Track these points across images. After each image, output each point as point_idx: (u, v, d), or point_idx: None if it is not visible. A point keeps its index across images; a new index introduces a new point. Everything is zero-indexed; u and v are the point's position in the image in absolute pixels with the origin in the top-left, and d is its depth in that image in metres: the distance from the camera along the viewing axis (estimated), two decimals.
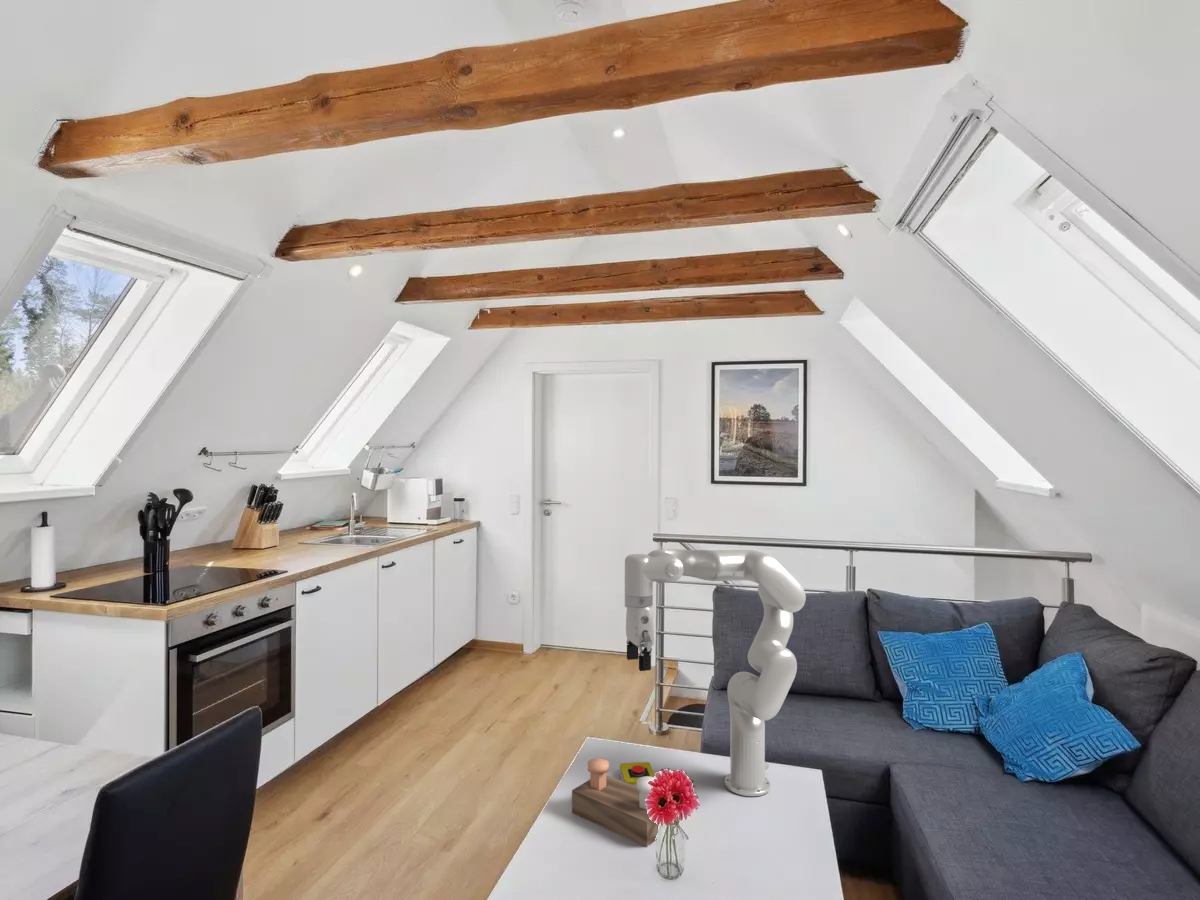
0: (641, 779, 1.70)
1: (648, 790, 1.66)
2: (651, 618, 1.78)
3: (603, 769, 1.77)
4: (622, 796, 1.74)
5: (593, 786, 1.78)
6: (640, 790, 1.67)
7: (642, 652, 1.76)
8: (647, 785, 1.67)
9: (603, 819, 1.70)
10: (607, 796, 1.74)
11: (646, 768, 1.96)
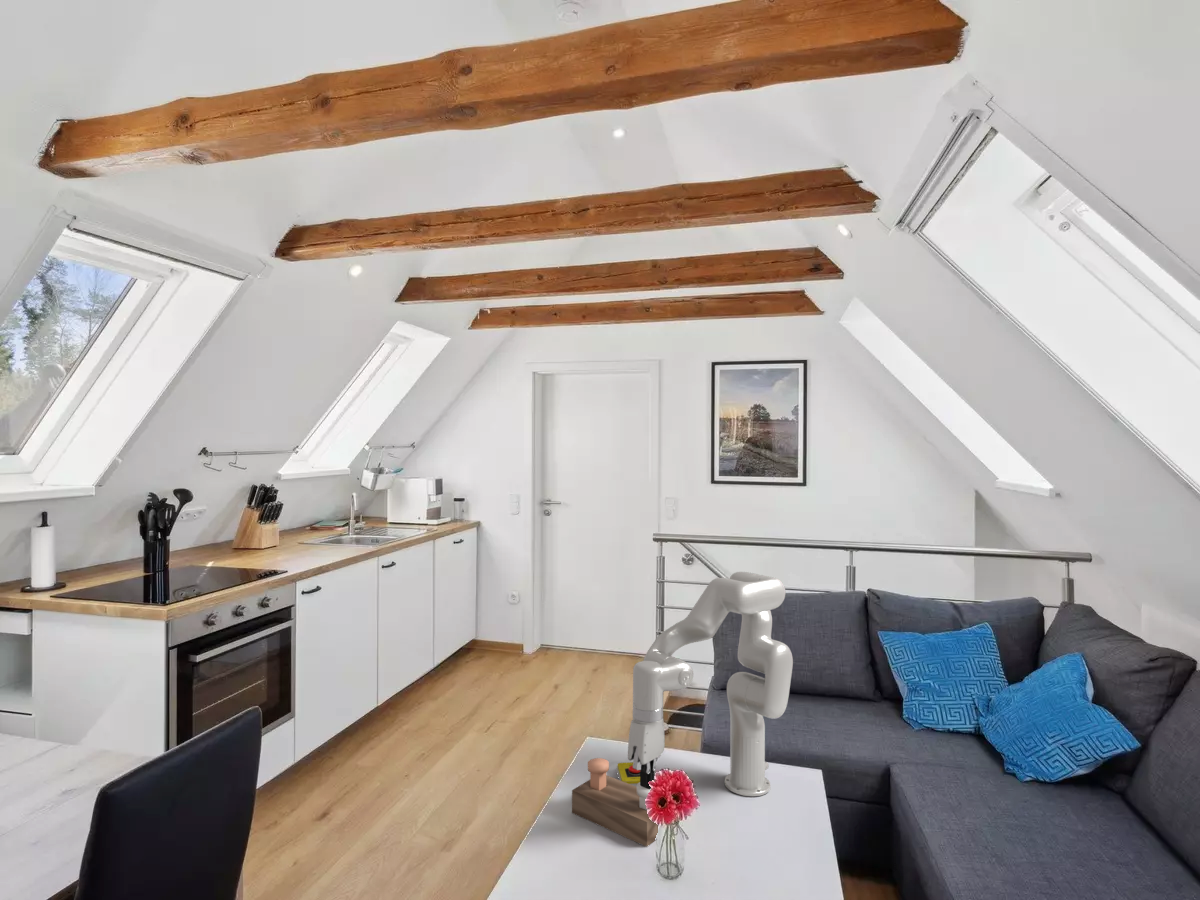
0: None
1: None
2: None
3: (603, 769, 1.77)
4: (622, 796, 1.74)
5: (593, 786, 1.78)
6: (640, 794, 1.67)
7: None
8: (647, 789, 1.67)
9: (603, 819, 1.70)
10: (607, 796, 1.74)
11: None
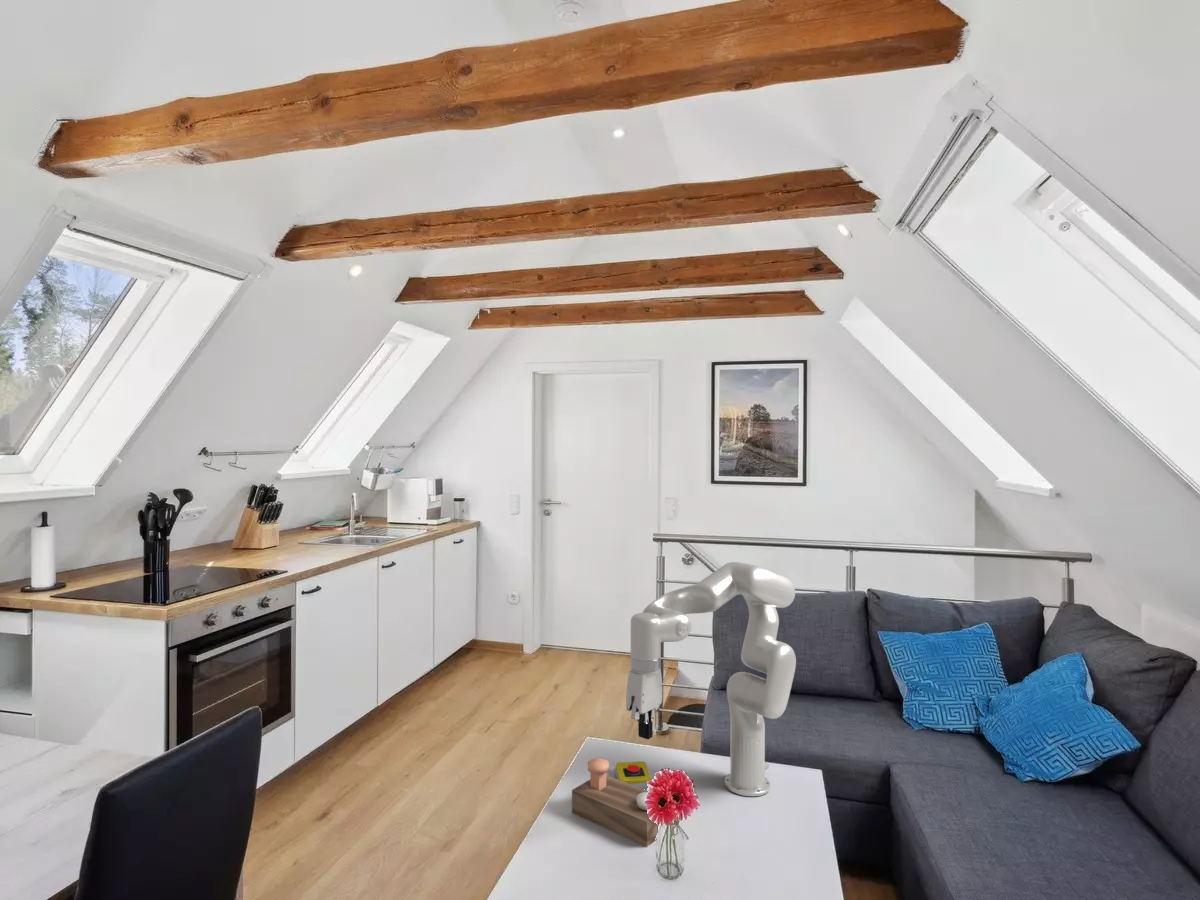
0: (641, 795, 1.70)
1: None
2: None
3: (603, 769, 1.77)
4: (622, 796, 1.74)
5: (593, 786, 1.78)
6: (640, 806, 1.67)
7: None
8: None
9: (603, 819, 1.70)
10: (607, 796, 1.74)
11: (641, 767, 1.96)
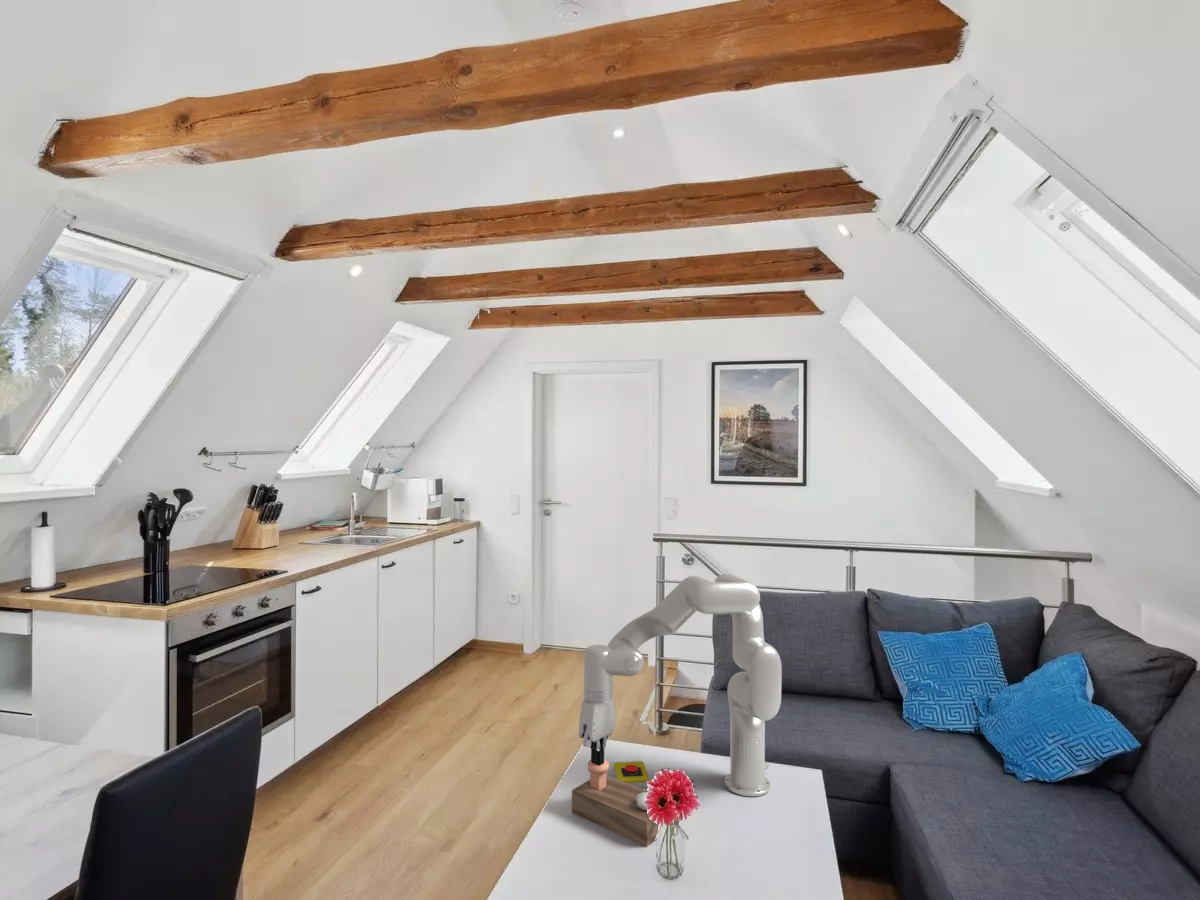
0: (641, 795, 1.70)
1: None
2: None
3: (603, 769, 1.77)
4: (622, 796, 1.74)
5: (593, 786, 1.78)
6: (640, 806, 1.67)
7: None
8: None
9: (603, 819, 1.70)
10: (607, 796, 1.74)
11: (639, 767, 1.96)
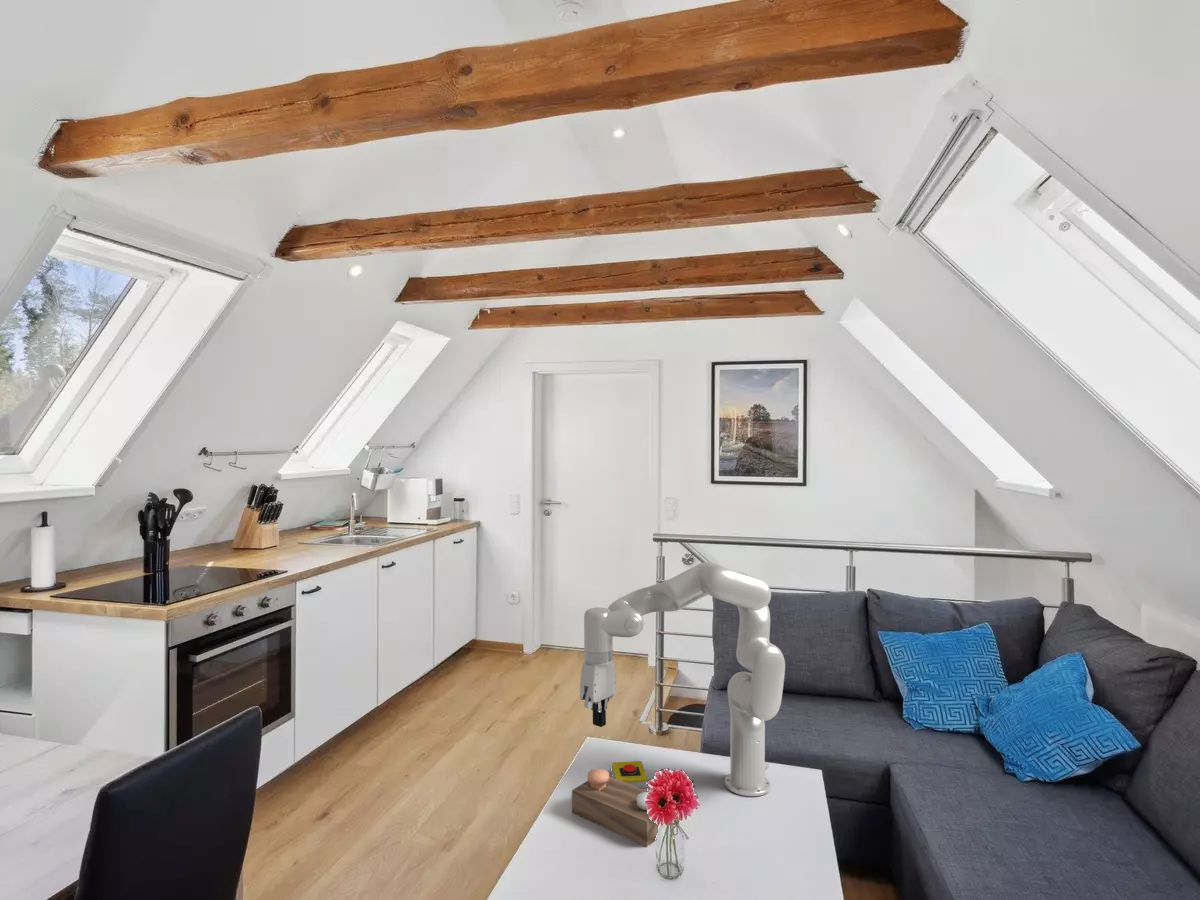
0: (641, 795, 1.70)
1: None
2: None
3: (603, 780, 1.77)
4: (622, 796, 1.74)
5: None
6: (640, 806, 1.67)
7: None
8: None
9: (603, 819, 1.70)
10: (607, 796, 1.74)
11: (638, 767, 1.97)
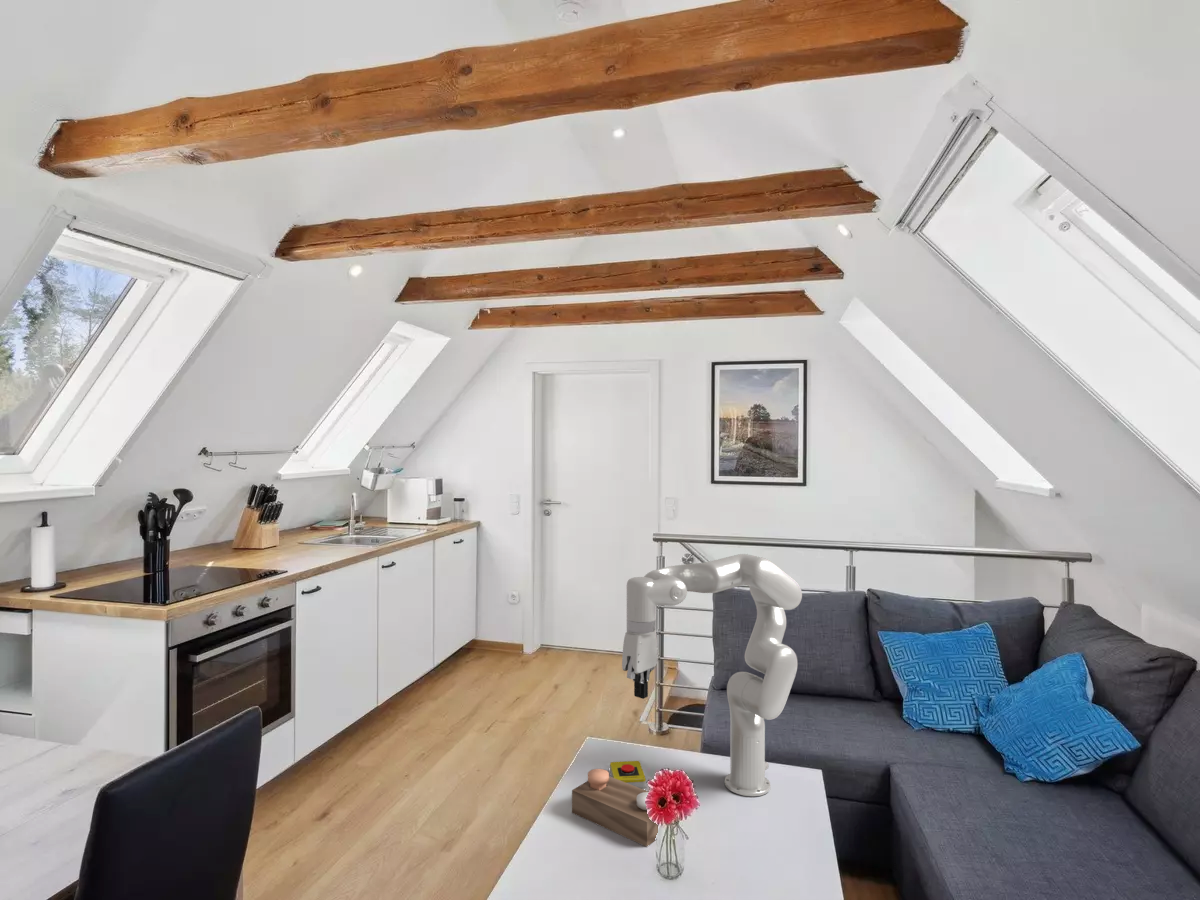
0: (641, 795, 1.70)
1: None
2: None
3: (603, 780, 1.77)
4: (622, 796, 1.74)
5: None
6: (640, 806, 1.67)
7: None
8: None
9: (603, 819, 1.70)
10: (607, 796, 1.74)
11: (636, 767, 1.97)
